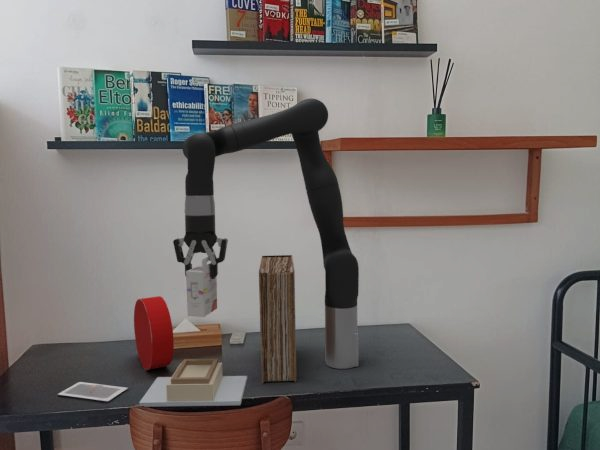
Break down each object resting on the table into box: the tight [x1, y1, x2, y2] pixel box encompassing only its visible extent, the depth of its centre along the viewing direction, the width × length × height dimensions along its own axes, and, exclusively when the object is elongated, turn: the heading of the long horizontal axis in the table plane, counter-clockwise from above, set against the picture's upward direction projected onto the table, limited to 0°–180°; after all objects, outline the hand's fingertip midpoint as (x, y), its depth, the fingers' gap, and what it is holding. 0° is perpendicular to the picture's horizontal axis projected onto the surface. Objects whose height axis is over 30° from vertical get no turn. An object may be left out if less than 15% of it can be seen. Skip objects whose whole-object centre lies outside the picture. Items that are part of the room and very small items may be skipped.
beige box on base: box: [138, 358, 248, 408], centre depth 124 cm, size 24×15×6 cm, turn 90°
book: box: [258, 254, 297, 385], centre depth 140 cm, size 25×9×30 cm, turn 2°
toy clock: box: [133, 295, 175, 371], centre depth 141 cm, size 20×6×20 cm, turn 32°
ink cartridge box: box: [185, 256, 218, 318], centre depth 128 cm, size 9×5×15 cm, turn 167°
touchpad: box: [57, 381, 128, 402], centre depth 125 cm, size 8×15×2 cm, turn 73°
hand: (201, 278), depth 127 cm, fingers closed on ink cartridge box, 5 cm apart
